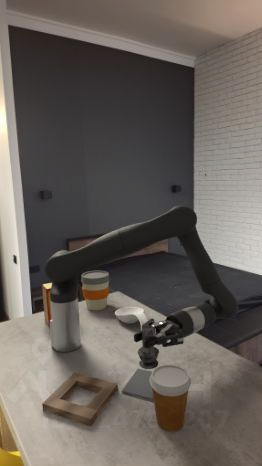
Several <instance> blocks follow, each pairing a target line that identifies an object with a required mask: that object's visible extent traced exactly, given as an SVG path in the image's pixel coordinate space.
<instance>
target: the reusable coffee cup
mask: <svg viewBox="0 0 262 466" xmlns="http://www.w3.org/2000/svg"><path fill="white" fill-rule="evenodd" d="M80 278H81V279H80V282H81V283H82V287H81V289H82V295H83V298H84V300H85V305H86V309H87V310H90V311H100V310H103V309H105V308H107V305H108V296H109V293H110V292H109V291H110V285H109V283H110V274H109V272H108V271H105V270H88V271H84V272H82V274H81V277H80Z"/></svg>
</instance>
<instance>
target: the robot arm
mask: <svg viewBox="0 0 262 466" xmlns="http://www.w3.org/2000/svg"><path fill="white" fill-rule="evenodd" d="M197 223H198V216H197V213H196V212H195V210H194V209H193V208H192V207H189V206H187V205H182V204H181V205H180V204H178V205H175V206H173V207H172V208H171V209H170V210H168V211H167V212H165V213H162V214H159V216H156V217H154V218H152V219H150V220H146V221H142V222H137V223H133V224H130V225H126V226H123V227H120V228H117V229H115V230H113V231H110V232H108V233H105V234H104V235H102V236H100V237H98V238H96V239H95V240H93V241H91V242H89V243H88V244H86V245H85V246H82V247H80V248H78V249H75V250H72V251H69V250H65V249H62V250H59V251H57V252H55V253H54V254H53V255H52V256H50V257H49V258H48V259H47V261H46V262H45V265H44V274H45V276H46V278H47V279H48V280H49V281H51V283H52V286H51V291H50V302H51V315H52V320H50V327H49V330H50V333H49V334H50V344H51V345H50V346H51V347H52V348H53V349H54V350H55V351H57V352H61V353H67V352H68V353H69V352H72V351H76V350H77V349H78V348H80V347H81V345H82V343H81V340H82V339H81V325H80V307H79V294H78V293H79V275H80V274H81V273H82V274H83V273H85V272H87V271H90V270H91V269H93V268H97V267H100V266H103V265H106V264H110V263H112V262H115V261H118V260H121V259H123V258H126V257H127V258H128V257H129V256H131V255H134V254H136V253H139V252H140V251H143V250H144V249H148V248H149V247H151V246H153V245H155V244H157V243H160V242H163V241H166V240H169V239H172V238H173V239H174V238H175V237H176V238H177V239H178V241H179V242H180V245H181V246H182V248H183V250H184V253H185V254H186V257H187V260H188V262H189V265H190V268H191V269H192V272H193V274H194V276H195V279H196V281H197V284H198V286H199V287H200V289H201V291H202V292H203V293H204V294H206V295H210V296H212V297H208V298H207V299H204V300H203V301H201V302H200V303H198V304H195V305H193V306H190V307H189V306H188V307H185V308H182V309H180V310H177V311H174V312H172V313H170V314H168V316H166V318H165V319H164V320H159V321H156V320H155V318H150V319H148V321H147V322H146V323H148V325H150V326H152V328H153V336H152V337H150V338H148V339H145V340H144V341H143V347H144V348H146V349H147V348H149V347H152V346H154V347H155V346H160V345H162V347H163V348H167V347H173V346H179V345H183V344H184V343H185V342H184V341H185V340H184V339H185V338H187V337H189V336H191V335H194V334H196V333H198V332H199V331H200V330H202V329H204V328H207V327H209V326H212V325H213V323H214V322H215V321H216V319H234V318H235V317H236V316H237V315H238V312H239V303H238V301H237V299H236V297H235V296H234V295H233V293H232V292H231V290H229V288H228V286H226V284H225V283H224V282H223V280H222V279H221V277H220V274H219V272H218V270H217V268H216V266H215V264H214V262H213V259H212V258H211V256H210V255H209V253H208V251H207V249H206V248H205V246H204V244H203V241H202V240H201V238H200V236H199V233H198V232H199V231H198V229H197ZM146 323H145V324H143V325H142V328H143V326H145V325H146ZM141 338H142V331H141V330H140V331H138V332H135V333H134V334H133V342H135V343H138V342H141V341H142V340H141Z"/></svg>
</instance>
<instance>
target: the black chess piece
mask: <svg viewBox="0 0 262 466" xmlns="http://www.w3.org/2000/svg"><path fill="white" fill-rule="evenodd" d="M152 336H153V328H152V326H150V325H148V323H146V325H145V326H143V328H142V338H141V341H142V346H141V347H139V349H137V354H138V357H139V359H140V361H139V363H138V364H139V366H140V368H141V369H143V370H152V369H153V370H154V369H155V368H157V367H158V366H159V361H158V360H157V359H158V357H159V353H160V350H159V348H157V347H156V346H155V345H154V346H152V347H149V348H147V349H146V348H144V347H143V341H144V340H145V339H148V338H150V337H152Z"/></svg>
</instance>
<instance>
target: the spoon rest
mask: <svg viewBox="0 0 262 466" xmlns="http://www.w3.org/2000/svg"><path fill="white" fill-rule="evenodd" d="M114 315H115V316H116V318H117V319H118V320H119V321H122V322H123V323H125V324H135V323H137V322H138V321H139V323H140V331H142V325H143V324H145V323H146V322H147V321H149V319H148V317H147V315H146V314H145V309H144V308H142V307H138V306H126V307H121V308H119V309H118V308H117V310H115V312H114Z"/></svg>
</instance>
